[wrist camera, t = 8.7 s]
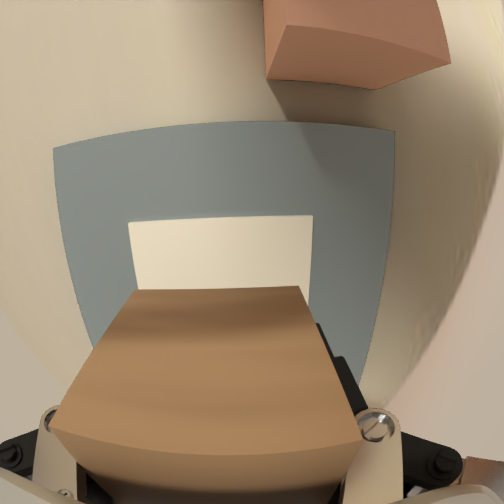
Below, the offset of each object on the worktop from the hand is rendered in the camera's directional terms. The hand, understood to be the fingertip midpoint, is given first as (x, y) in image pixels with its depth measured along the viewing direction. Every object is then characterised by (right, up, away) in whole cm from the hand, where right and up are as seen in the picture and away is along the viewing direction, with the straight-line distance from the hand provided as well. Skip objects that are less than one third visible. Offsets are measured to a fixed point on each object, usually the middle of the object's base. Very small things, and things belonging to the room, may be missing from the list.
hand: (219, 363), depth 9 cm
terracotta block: (+5, +15, +1) cm, 15 cm away
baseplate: (0, +2, +5) cm, 5 cm away
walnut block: (0, 0, +1) cm, 1 cm away
